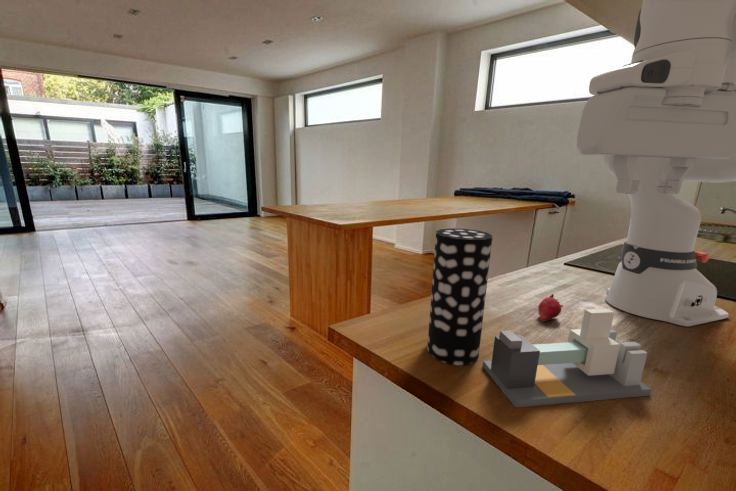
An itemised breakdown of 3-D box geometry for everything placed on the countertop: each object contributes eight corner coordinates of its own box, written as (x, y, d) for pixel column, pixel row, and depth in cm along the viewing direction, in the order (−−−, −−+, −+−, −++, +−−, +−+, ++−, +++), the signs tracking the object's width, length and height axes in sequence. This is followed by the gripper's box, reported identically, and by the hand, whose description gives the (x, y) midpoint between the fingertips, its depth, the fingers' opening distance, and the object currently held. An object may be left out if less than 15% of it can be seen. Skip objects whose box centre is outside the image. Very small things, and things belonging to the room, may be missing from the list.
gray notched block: (599, 356, 54) (605, 325, 52) (639, 384, 47) (648, 349, 46) (585, 357, 53) (592, 326, 52) (624, 386, 47) (632, 350, 45)
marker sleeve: (588, 355, 52) (599, 303, 50) (613, 373, 47) (626, 317, 45) (564, 357, 51) (574, 304, 49) (588, 375, 47) (600, 318, 45)
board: (597, 358, 55) (598, 352, 55) (649, 395, 46) (651, 388, 46) (482, 366, 52) (483, 360, 52) (515, 407, 43) (516, 400, 43)
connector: (515, 367, 50) (521, 326, 49) (534, 386, 46) (541, 342, 44) (490, 369, 50) (495, 328, 48) (506, 389, 45) (513, 344, 44)
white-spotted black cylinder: (424, 337, 60) (432, 227, 56) (471, 339, 60) (483, 229, 55) (431, 364, 52) (441, 238, 48) (485, 366, 52) (500, 240, 47)
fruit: (529, 319, 69) (533, 296, 68) (542, 311, 73) (546, 289, 71) (551, 327, 66) (555, 303, 64) (563, 318, 69) (567, 296, 68)
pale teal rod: (608, 351, 51) (611, 339, 50) (620, 359, 49) (622, 346, 48) (509, 358, 48) (511, 345, 48) (517, 366, 46) (519, 353, 46)
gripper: (715, 88, 45) (688, 192, 49) (578, 78, 42) (560, 190, 45) (776, 77, 39) (741, 197, 42) (622, 65, 36) (597, 195, 39)
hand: (646, 193), depth 44 cm, fingers open, 5 cm apart
